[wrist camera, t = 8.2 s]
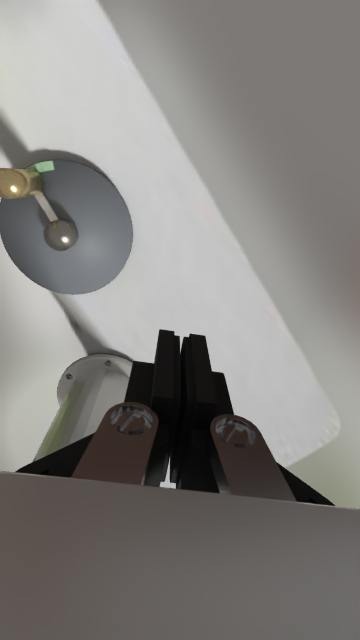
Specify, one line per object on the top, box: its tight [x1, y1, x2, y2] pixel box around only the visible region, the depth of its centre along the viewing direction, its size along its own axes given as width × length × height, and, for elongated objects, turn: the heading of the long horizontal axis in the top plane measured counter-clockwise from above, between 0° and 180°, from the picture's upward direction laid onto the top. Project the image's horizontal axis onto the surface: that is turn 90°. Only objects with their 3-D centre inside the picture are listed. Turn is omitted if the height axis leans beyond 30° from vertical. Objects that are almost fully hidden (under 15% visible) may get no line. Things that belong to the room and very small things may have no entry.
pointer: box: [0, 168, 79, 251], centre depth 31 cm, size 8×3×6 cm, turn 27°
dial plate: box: [0, 160, 133, 295], centre depth 36 cm, size 14×14×2 cm
